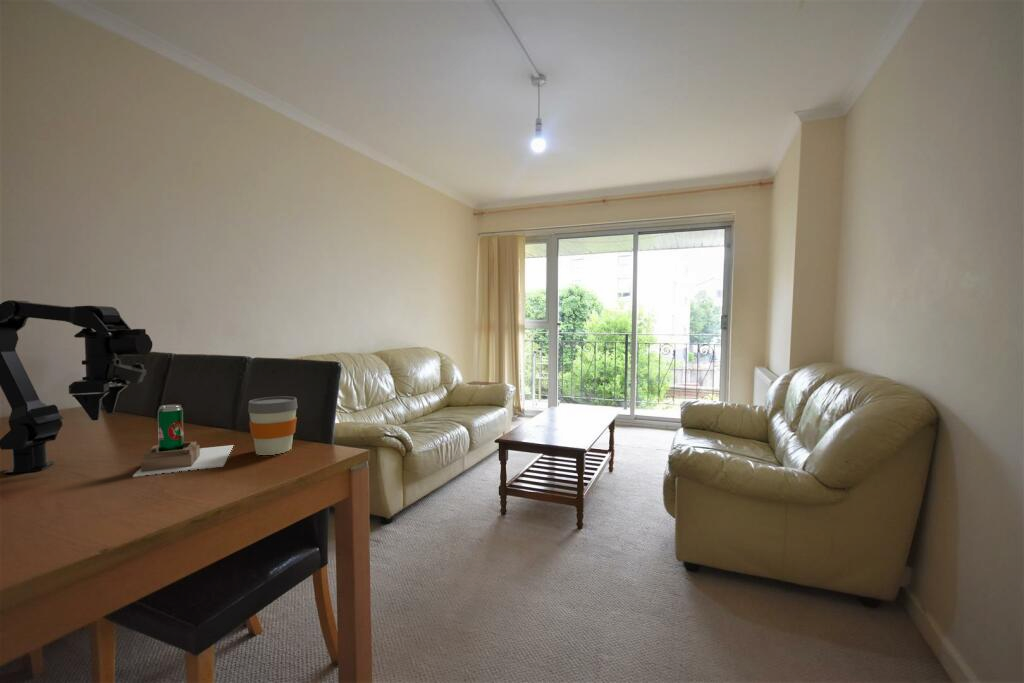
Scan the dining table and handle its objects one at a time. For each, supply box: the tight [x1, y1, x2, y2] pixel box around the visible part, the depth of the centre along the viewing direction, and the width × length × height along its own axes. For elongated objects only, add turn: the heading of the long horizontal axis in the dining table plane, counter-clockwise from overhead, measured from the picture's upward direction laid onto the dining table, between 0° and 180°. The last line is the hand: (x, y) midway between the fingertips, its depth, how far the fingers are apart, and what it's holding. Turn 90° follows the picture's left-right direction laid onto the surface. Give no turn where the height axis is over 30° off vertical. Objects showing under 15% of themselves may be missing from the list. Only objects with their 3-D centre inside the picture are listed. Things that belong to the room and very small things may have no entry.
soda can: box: [157, 404, 185, 452], centre depth 110 cm, size 5×5×12 cm
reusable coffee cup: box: [247, 395, 298, 456], centre depth 122 cm, size 12×13×15 cm
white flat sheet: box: [132, 444, 235, 478], centre depth 114 cm, size 20×18×1 cm
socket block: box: [140, 440, 201, 472], centre depth 110 cm, size 10×10×5 cm
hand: (103, 416), depth 108 cm, fingers open, 9 cm apart
